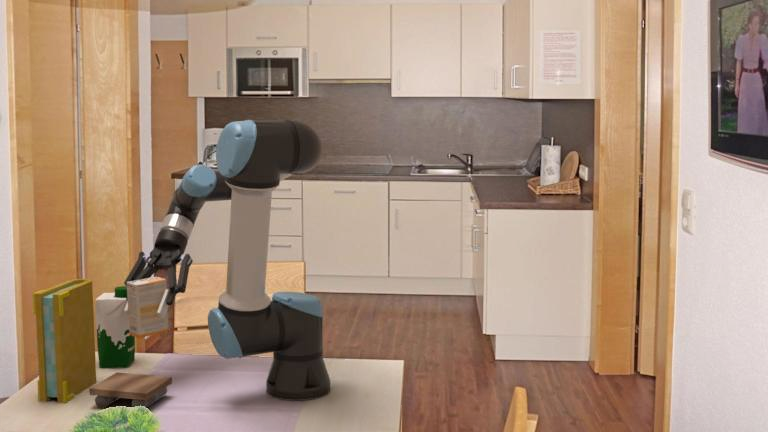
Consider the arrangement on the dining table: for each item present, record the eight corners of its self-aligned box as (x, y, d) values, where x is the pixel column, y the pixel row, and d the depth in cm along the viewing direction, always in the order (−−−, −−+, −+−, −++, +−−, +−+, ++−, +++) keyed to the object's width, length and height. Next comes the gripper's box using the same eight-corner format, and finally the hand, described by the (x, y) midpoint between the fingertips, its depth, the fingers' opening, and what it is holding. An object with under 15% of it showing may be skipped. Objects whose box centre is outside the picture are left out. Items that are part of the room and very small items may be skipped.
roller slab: (172, 395, 214) (171, 376, 214) (147, 413, 203) (146, 393, 202) (117, 390, 218) (117, 372, 217) (90, 407, 206) (89, 388, 205)
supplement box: (158, 328, 226) (156, 275, 224) (169, 332, 223) (167, 278, 221) (128, 335, 220) (125, 281, 218) (138, 338, 217) (135, 284, 215)
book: (65, 403, 209) (60, 294, 206) (38, 400, 210) (32, 293, 207) (102, 379, 225) (98, 279, 222) (77, 378, 227) (72, 278, 223)
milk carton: (129, 369, 234) (127, 291, 231) (94, 368, 234) (91, 291, 231) (139, 358, 243) (136, 284, 240) (104, 358, 243) (101, 284, 240)
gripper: (216, 247, 232) (189, 325, 219) (142, 243, 238) (111, 320, 224) (206, 229, 226) (178, 308, 213) (130, 226, 232) (98, 303, 219)
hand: (144, 314), depth 219 cm, fingers closed on supplement box, 8 cm apart
